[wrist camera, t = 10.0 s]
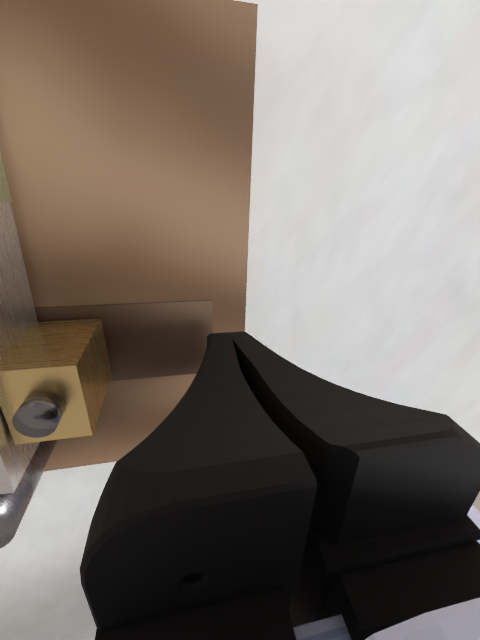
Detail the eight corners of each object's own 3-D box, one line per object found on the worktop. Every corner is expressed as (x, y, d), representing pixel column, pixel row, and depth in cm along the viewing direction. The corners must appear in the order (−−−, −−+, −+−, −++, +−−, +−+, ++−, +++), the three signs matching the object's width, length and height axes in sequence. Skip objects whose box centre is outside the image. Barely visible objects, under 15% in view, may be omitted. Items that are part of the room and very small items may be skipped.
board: (235, 426, 16) (240, 445, 14) (-28, 459, 13) (-46, 485, 12) (247, 25, 9) (258, 2, 8) (-269, -47, 7) (-358, -94, 6)
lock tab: (111, 375, 11) (87, 451, 8) (53, 380, 11) (4, 462, 8) (101, 318, 10) (69, 379, 7) (37, 321, 10) (-28, 387, 7)
